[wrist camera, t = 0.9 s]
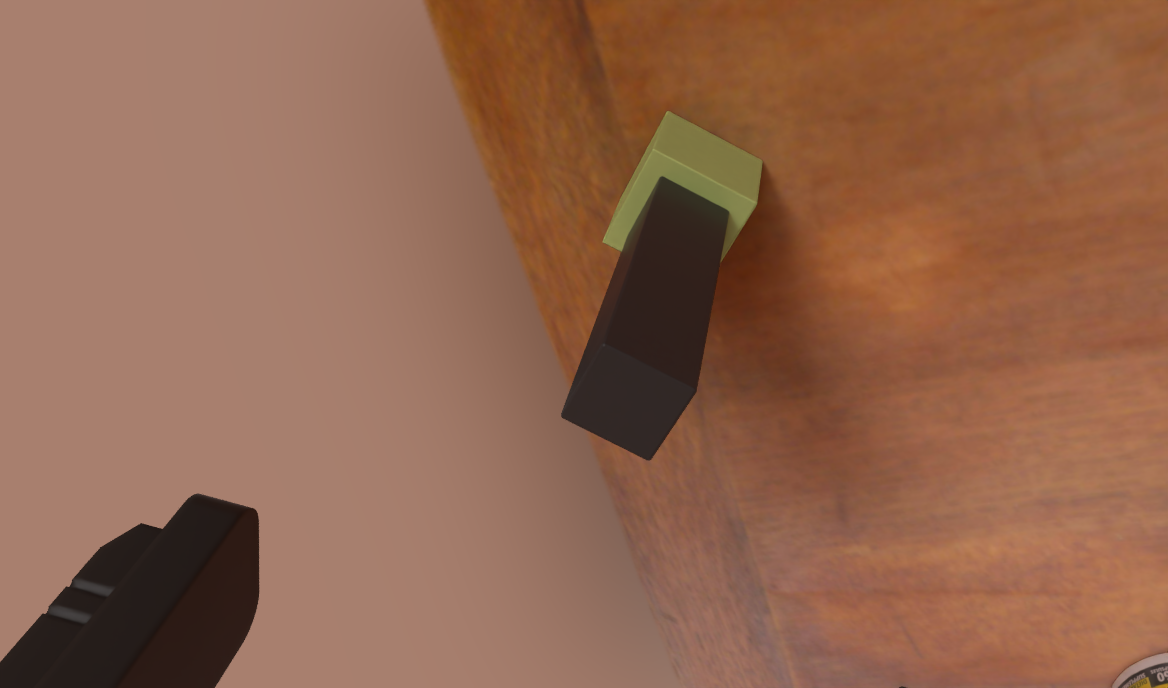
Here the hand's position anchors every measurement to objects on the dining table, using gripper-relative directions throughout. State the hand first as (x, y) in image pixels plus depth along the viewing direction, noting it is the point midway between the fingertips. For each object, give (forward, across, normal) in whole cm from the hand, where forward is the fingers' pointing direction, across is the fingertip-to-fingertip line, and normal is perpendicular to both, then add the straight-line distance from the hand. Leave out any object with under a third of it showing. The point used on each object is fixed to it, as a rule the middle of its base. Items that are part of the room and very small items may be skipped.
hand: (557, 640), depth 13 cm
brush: (+24, 0, +4) cm, 24 cm away
